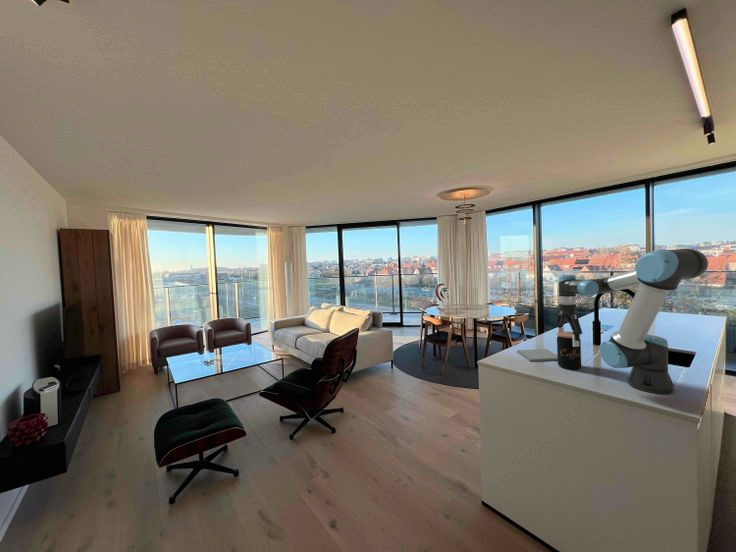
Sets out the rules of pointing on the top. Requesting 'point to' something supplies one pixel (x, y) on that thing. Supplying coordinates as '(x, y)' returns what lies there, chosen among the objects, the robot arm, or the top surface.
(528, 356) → the plate
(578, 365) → the coffee jar
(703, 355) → the top surface
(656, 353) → the robot arm
